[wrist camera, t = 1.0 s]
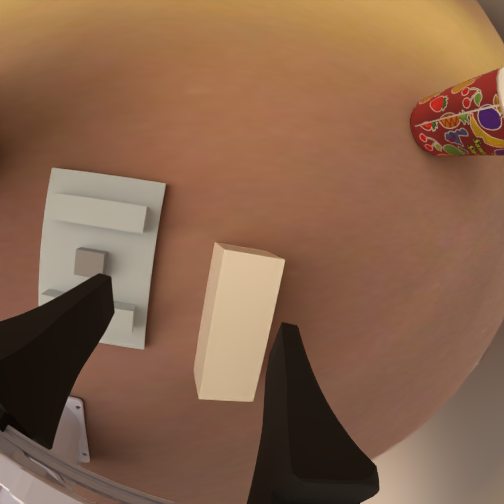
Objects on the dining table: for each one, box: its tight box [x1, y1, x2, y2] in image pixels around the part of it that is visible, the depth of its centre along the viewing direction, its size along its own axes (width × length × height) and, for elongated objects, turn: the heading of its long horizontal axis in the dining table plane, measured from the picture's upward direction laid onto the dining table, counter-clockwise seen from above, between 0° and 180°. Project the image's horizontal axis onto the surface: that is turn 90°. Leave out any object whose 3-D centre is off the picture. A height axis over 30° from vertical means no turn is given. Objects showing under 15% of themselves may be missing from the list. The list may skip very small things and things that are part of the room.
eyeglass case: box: [194, 242, 285, 402], centre depth 25 cm, size 12×4×5 cm, turn 168°
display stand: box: [39, 168, 166, 350], centre depth 22 cm, size 14×10×3 cm
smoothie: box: [410, 66, 504, 156], centre depth 20 cm, size 8×8×20 cm
